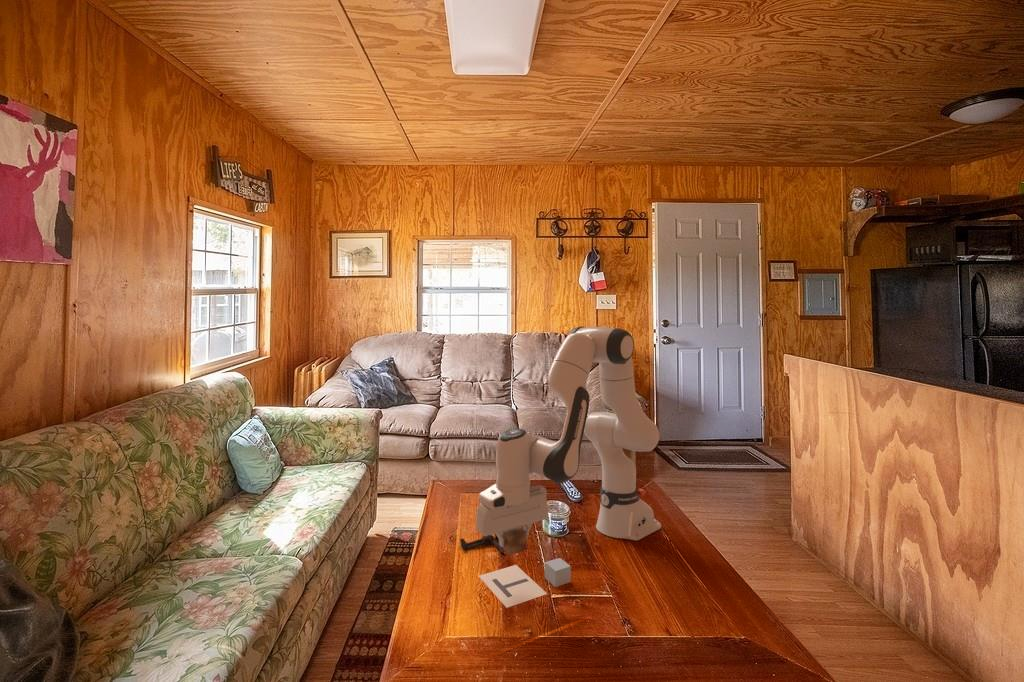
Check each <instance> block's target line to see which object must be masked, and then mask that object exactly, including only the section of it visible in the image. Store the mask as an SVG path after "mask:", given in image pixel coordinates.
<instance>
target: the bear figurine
mask: <svg viewBox="0 0 1024 682" xmlns="http://www.w3.org/2000/svg"><path fill="white" fill-rule="evenodd" d="M459 541H460V546H461V548H462V550H463V551H468V550H472V549H476V548H479V547H481V546H489V545H494V546H495V548H497V549H498V551H499V552H500V553H501V554H504V553H505V550H504V549H503V548H502V547H501V546H500V545H499V538H498V537H497V535H496V534H494V535H493V534H491V535H487V536H483V535H482V537H481V538H480V539H476V540H472V541H469V542H467V541H466V540H465V538H460V540H459Z"/></svg>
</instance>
